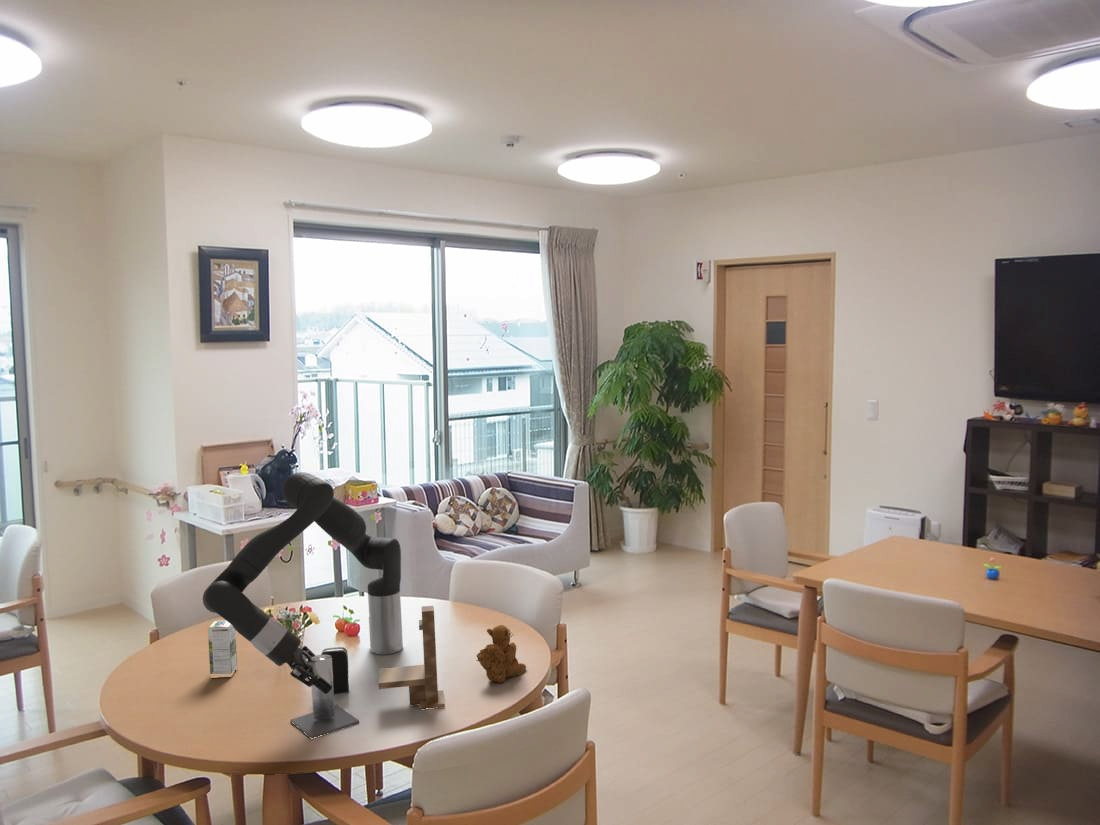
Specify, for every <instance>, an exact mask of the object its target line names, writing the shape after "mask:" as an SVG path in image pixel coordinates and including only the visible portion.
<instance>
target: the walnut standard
mask: <svg viewBox="0 0 1100 825" xmlns="http://www.w3.org/2000/svg"><path fill="white" fill-rule="evenodd" d="M434 608H435V606H434V605H423V606H421V619H419V620H418V630H419V631H422V646H423V648H422V649H423V664H416V665H407V666H395V667H385V668H379V677H378V690H385V689H393V688H395V689H396V688H405V687H408V696H409V697H408V698H409V706H410V705H413V706H418V705H417V704H420V705H419V710H420V711H422V710H421V709H425V710H427V709H426V708H435V709H437V708H436V707H445V708H446V705H445V704H446V703H445V694H444V690H443V689H442V690H439V688H438V687H439V685H438V671H437V670H438V668H437V667H438V666H437V650H436V648H437V646H436V629H435V628H436V621H435V609H434Z"/></svg>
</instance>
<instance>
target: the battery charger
mask: <svg viewBox="0 0 1100 825" xmlns="http://www.w3.org/2000/svg"><path fill="white" fill-rule="evenodd" d="M324 654H325V655H330V656H332V670H333V676H334V680H333V688H334V694H340V693H342V694H343V693H348V692H349V691H350V685H349V684H350V683H349V655H348V650H347V648H346V647H343V646H342V647H341V646H338V647H328V648H325V649H323V650H322V652H321V653H320V655H324Z"/></svg>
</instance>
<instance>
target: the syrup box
mask: <svg viewBox="0 0 1100 825" xmlns="http://www.w3.org/2000/svg"><path fill="white" fill-rule="evenodd" d="M207 636H208V638H207V639H208V653H209V654H208V656H209V674H231V673H232V672H233V671H234V669H235V668H236V666H237V667H238V657H237V656H238V654H237V638H236V630H235V629H234V627H233V625H232V624H230V623H229V622H228V621H226V620H225V619H220V620H214V621H213V623H211V625H210V626H208V628H207Z"/></svg>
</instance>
